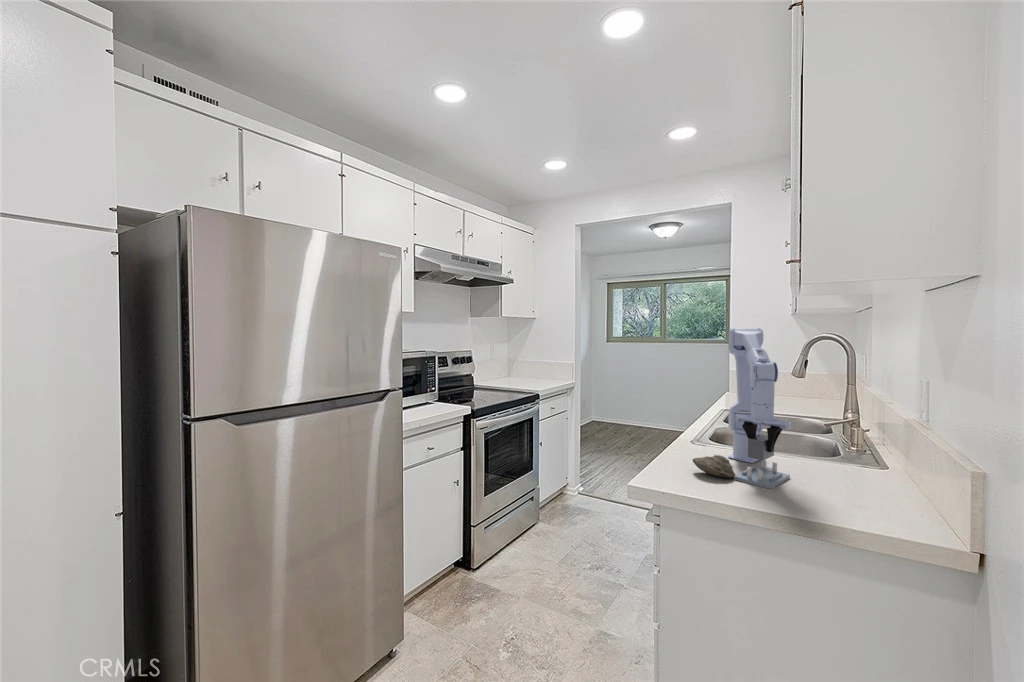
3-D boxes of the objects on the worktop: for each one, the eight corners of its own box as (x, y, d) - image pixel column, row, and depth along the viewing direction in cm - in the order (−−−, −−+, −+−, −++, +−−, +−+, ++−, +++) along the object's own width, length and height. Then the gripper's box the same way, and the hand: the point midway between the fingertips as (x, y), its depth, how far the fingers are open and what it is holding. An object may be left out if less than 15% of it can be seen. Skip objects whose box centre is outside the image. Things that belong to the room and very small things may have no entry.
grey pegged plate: (753, 469, 137) (753, 456, 137) (789, 478, 130) (789, 464, 130) (733, 479, 128) (734, 465, 128) (771, 489, 121) (772, 474, 120)
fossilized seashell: (728, 478, 124) (721, 453, 127) (692, 482, 131) (686, 458, 133) (740, 476, 132) (733, 452, 134) (705, 480, 138) (699, 457, 141)
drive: (758, 452, 133) (759, 434, 133) (774, 455, 130) (774, 436, 130) (747, 457, 128) (748, 438, 128) (763, 460, 125) (763, 441, 124)
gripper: (731, 401, 131) (730, 446, 132) (785, 408, 120) (784, 458, 121) (741, 399, 136) (740, 443, 136) (794, 405, 125) (793, 453, 125)
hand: (761, 449), depth 129 cm, fingers closed on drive, 4 cm apart
